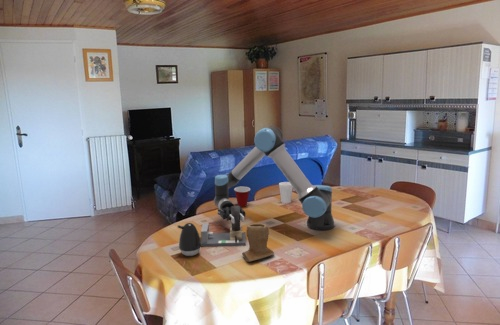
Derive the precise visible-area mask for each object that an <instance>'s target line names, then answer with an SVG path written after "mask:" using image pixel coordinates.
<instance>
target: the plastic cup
mask: <svg viewBox="0 0 500 325" xmlns="http://www.w3.org/2000/svg"><path fill="white" fill-rule="evenodd" d="M233 190H234V193H235V197H236V203H237V206H240V207H242V208H245V207H247V206H248V201H249V195H250V191H251V188H250V187H249V186H236V187H234V189H233Z"/></svg>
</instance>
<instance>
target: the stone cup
mask: <svg viewBox="0 0 500 325" xmlns="http://www.w3.org/2000/svg"><path fill="white" fill-rule="evenodd" d="M269 232H270V231H269V226H268V225H267V224H265V223H251V224H248V225H246V232H245V234H246V237H247V241H248V245H249V248H248V250H245V251H243V252H241V253H242V256H243V258H244V260H245V261H246V262H250V263H251V262H253V261H257V260H262V259H265V258H268V257H270V256H272V255H274V254H275V252H274V250H272V249H271V248H269V247H268V246H267V245H268V240H269V236H270V235H269V234H270V233H269Z"/></svg>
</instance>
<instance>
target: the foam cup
mask: <svg viewBox="0 0 500 325" xmlns="http://www.w3.org/2000/svg"><path fill="white" fill-rule="evenodd" d="M278 187H279V194H280V201H281V203H282V204H291V203H292V195H293V189H294V188H293V186H292V185H291V184H290V182H289V181H283V182H279V183H278Z"/></svg>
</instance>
